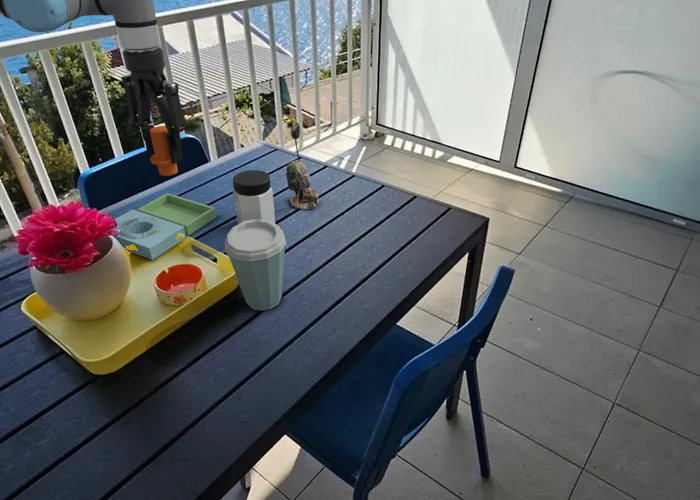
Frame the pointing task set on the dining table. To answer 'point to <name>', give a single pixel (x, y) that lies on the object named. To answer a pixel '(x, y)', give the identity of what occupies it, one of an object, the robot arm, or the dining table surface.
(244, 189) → the jar
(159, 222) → the plate
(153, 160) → the plug
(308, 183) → the plant with pod
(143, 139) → the robot arm
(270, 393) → the dining table surface
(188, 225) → the tray
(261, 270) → the disposable coffee cup
